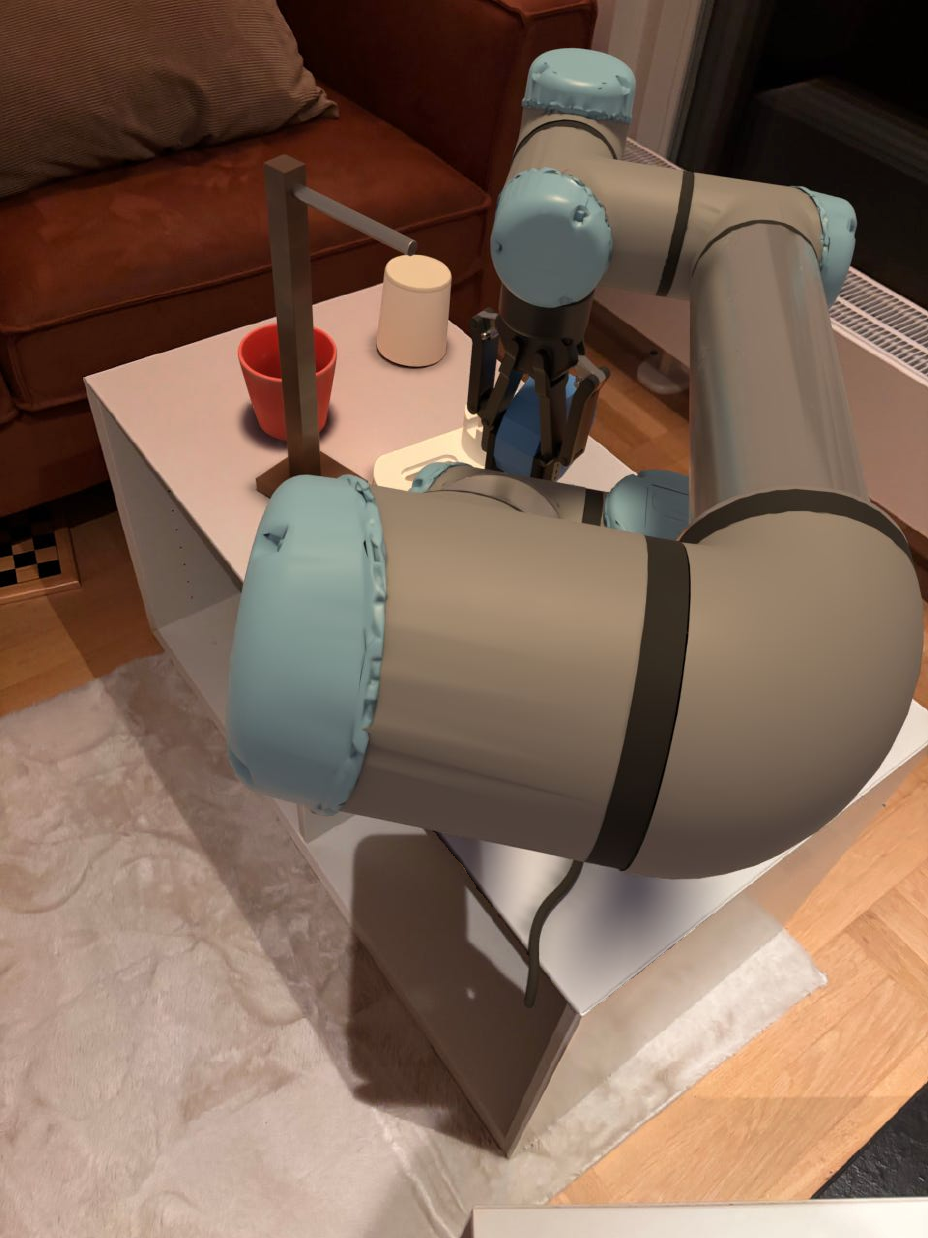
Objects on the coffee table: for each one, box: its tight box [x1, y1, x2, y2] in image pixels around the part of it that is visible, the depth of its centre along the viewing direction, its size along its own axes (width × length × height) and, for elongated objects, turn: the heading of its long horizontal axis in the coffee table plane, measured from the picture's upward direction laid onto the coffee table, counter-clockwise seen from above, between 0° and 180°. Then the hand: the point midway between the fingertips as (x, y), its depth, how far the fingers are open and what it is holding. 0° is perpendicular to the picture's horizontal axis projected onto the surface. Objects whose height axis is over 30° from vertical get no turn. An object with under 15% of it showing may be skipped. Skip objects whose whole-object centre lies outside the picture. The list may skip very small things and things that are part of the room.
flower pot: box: [237, 322, 338, 442], centre depth 104 cm, size 11×11×10 cm
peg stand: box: [255, 153, 418, 499], centre depth 86 cm, size 17×8×35 cm, turn 52°
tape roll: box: [493, 373, 598, 482], centre depth 90 cm, size 4×11×11 cm
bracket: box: [372, 390, 519, 491], centre depth 102 cm, size 20×9×7 cm, turn 123°
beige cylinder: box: [375, 254, 453, 367], centre depth 116 cm, size 11×9×10 cm
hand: (514, 490), depth 92 cm, fingers closed on tape roll, 4 cm apart
